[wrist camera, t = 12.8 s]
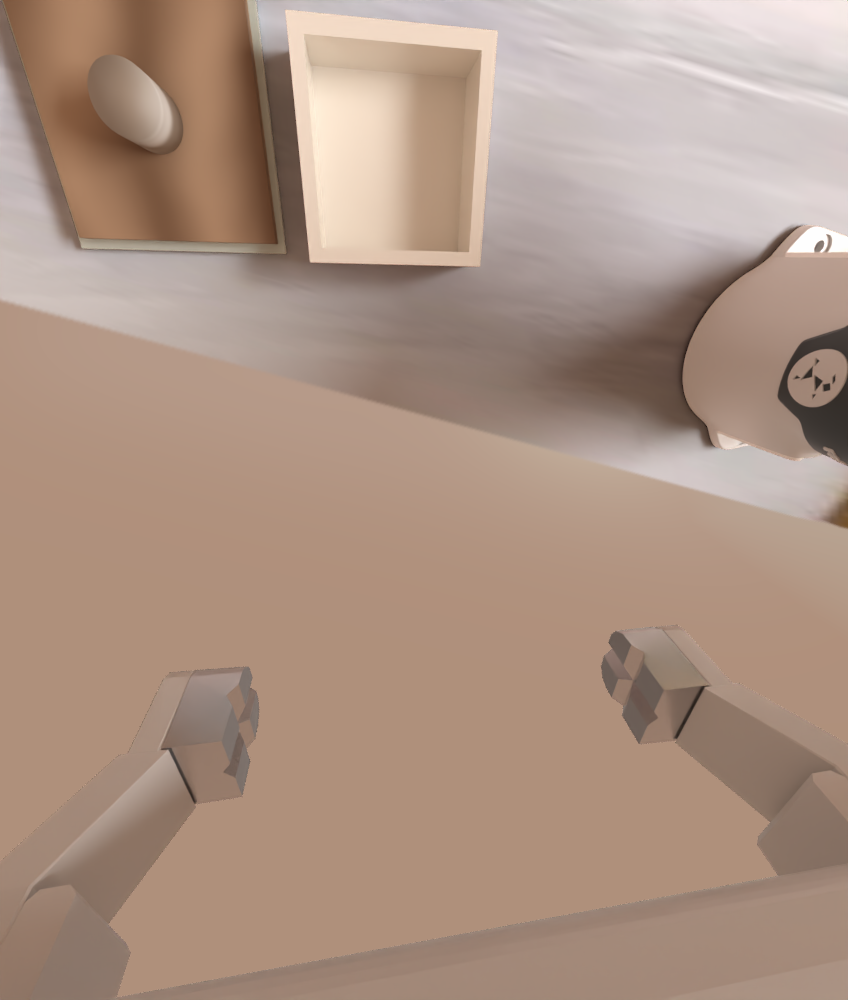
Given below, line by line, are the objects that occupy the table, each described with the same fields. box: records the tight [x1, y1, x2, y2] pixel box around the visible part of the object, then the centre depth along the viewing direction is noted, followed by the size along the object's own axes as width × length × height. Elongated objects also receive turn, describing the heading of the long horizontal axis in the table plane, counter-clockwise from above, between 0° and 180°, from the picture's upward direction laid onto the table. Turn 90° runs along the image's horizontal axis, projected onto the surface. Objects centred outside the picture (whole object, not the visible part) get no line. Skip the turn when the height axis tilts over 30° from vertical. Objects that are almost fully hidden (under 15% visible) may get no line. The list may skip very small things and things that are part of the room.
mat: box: [2, 0, 287, 254], centre depth 25 cm, size 13×13×1 cm
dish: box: [285, 10, 498, 267], centre depth 26 cm, size 11×11×4 cm
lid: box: [3, 0, 278, 244], centre depth 23 cm, size 12×12×4 cm
